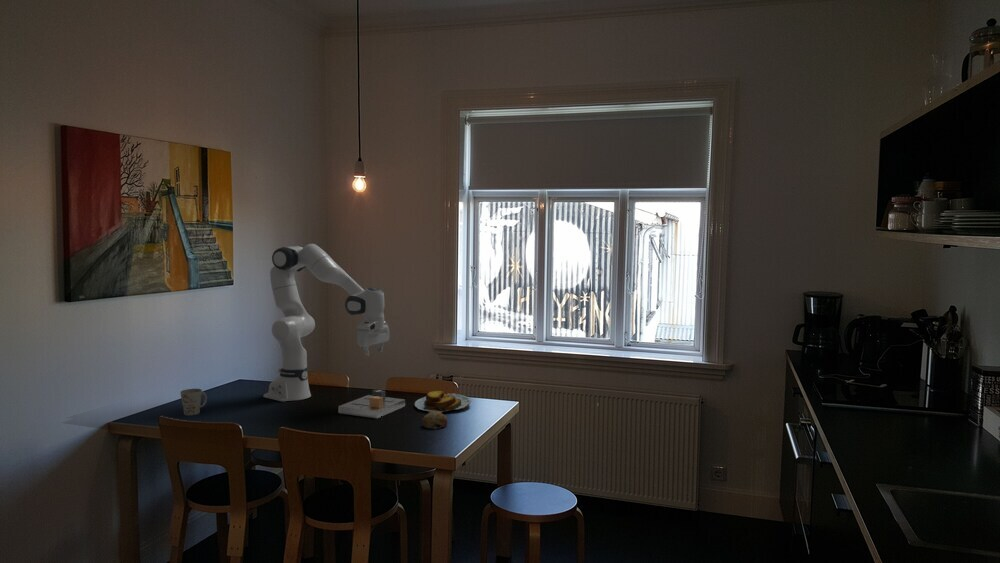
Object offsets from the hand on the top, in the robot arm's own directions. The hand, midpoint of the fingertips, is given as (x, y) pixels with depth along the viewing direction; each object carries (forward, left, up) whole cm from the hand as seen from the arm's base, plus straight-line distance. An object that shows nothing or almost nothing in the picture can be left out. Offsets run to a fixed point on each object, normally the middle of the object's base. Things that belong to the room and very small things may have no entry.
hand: (373, 353), depth 301 cm
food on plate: (+31, +9, -24) cm, 40 cm away
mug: (-62, -44, -23) cm, 80 cm away
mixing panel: (+5, -8, -23) cm, 25 cm away
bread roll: (+41, -17, -24) cm, 51 cm away
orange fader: (+10, -13, -20) cm, 26 cm away
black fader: (+5, -3, -20) cm, 21 cm away
